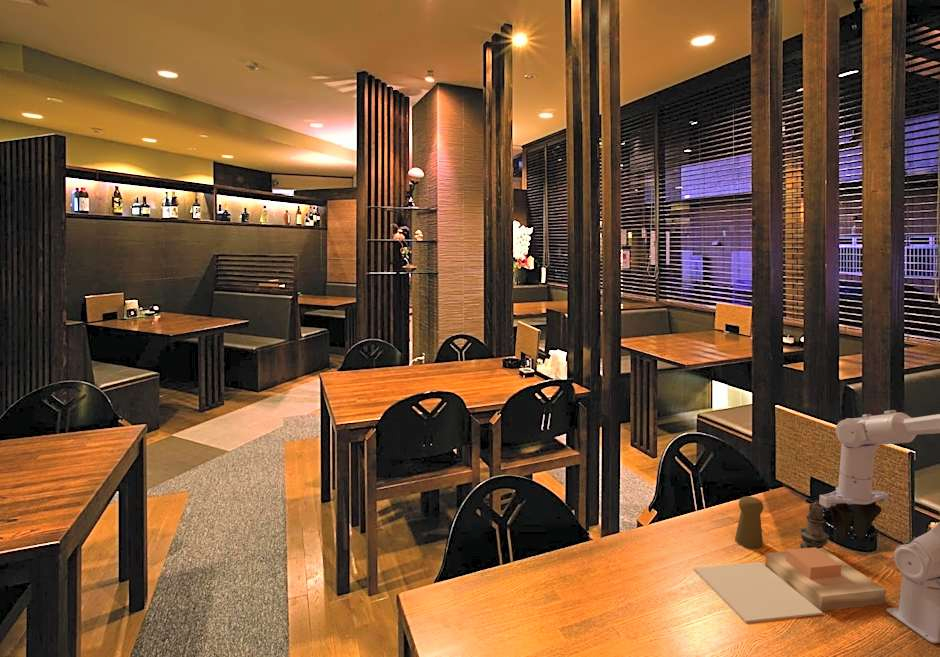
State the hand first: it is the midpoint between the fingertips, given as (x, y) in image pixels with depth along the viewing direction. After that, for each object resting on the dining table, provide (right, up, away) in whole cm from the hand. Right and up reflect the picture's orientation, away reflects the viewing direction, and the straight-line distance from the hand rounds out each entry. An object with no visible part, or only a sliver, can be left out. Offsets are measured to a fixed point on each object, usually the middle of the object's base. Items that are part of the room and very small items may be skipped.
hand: (850, 536), depth 116 cm
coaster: (-8, -5, -1) cm, 10 cm away
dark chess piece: (0, -8, +13) cm, 15 cm away
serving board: (-7, -10, -1) cm, 12 cm away
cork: (-13, -8, +16) cm, 22 cm away
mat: (-22, -10, -3) cm, 24 cm away
